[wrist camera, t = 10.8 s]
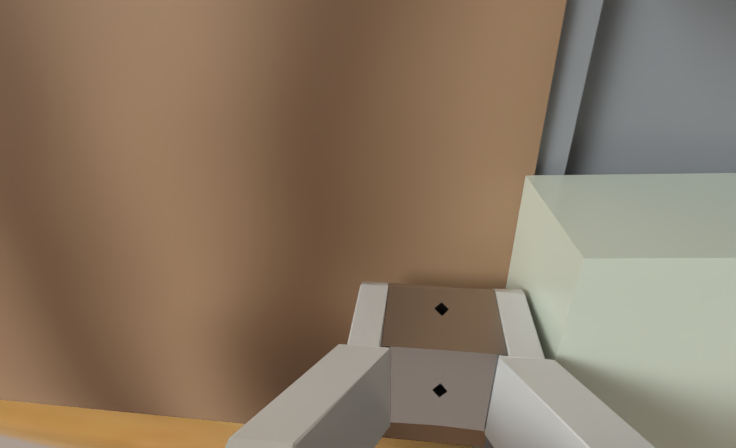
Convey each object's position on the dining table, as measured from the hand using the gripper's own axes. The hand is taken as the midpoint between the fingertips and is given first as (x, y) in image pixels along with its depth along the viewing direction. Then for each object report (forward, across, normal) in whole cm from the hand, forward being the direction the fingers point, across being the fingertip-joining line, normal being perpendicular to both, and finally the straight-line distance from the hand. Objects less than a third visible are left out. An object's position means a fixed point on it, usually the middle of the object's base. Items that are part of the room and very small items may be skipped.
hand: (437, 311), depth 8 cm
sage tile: (+1, -4, 0) cm, 4 cm away
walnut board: (+2, +8, 0) cm, 9 cm away
